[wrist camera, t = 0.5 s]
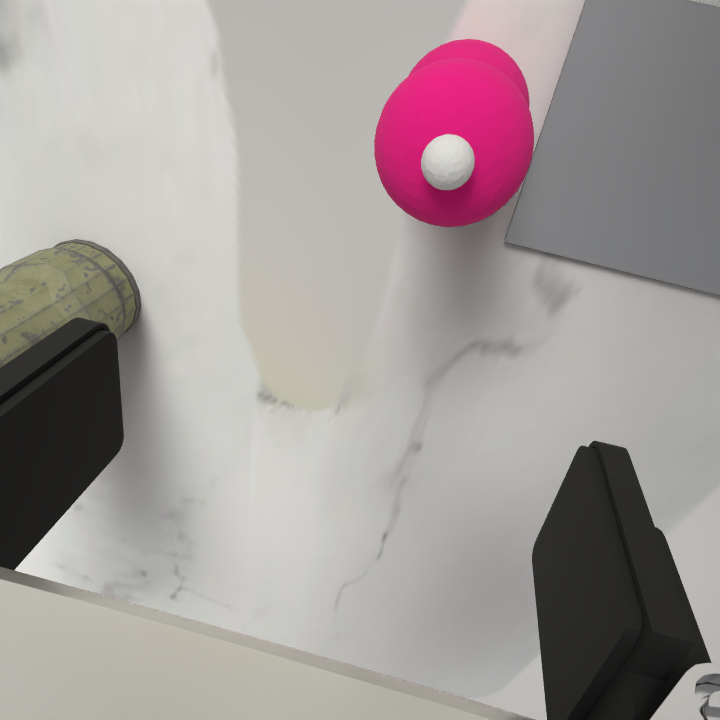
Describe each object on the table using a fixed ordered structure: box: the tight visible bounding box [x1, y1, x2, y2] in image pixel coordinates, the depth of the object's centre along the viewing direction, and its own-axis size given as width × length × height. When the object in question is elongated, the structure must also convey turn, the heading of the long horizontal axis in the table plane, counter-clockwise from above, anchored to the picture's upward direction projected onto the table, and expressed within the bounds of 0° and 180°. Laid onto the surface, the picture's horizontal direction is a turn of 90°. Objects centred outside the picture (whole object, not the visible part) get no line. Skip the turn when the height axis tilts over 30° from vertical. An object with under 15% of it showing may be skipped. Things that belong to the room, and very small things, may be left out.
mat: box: [505, 0, 720, 295], centre depth 34 cm, size 15×19×1 cm
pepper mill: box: [374, 39, 534, 227], centre depth 27 cm, size 7×7×20 cm
